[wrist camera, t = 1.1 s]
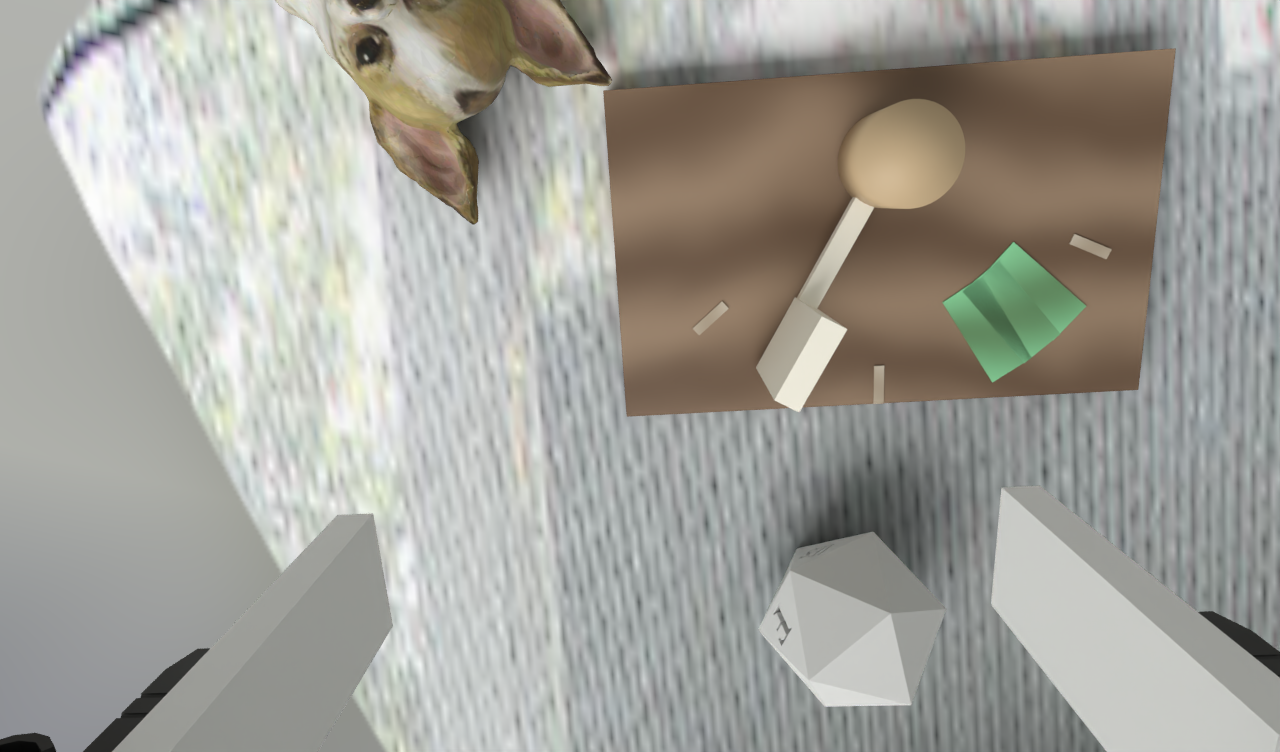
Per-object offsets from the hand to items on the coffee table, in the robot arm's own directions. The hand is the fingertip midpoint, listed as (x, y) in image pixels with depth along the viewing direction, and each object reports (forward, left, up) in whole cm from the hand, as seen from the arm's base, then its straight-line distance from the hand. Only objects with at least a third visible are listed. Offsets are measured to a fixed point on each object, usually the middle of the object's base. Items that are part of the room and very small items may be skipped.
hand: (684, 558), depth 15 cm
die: (-14, -8, -23) cm, 29 cm away
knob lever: (+5, -8, -21) cm, 23 cm away
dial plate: (+5, -11, -23) cm, 26 cm away
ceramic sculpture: (+15, +10, -23) cm, 30 cm away
